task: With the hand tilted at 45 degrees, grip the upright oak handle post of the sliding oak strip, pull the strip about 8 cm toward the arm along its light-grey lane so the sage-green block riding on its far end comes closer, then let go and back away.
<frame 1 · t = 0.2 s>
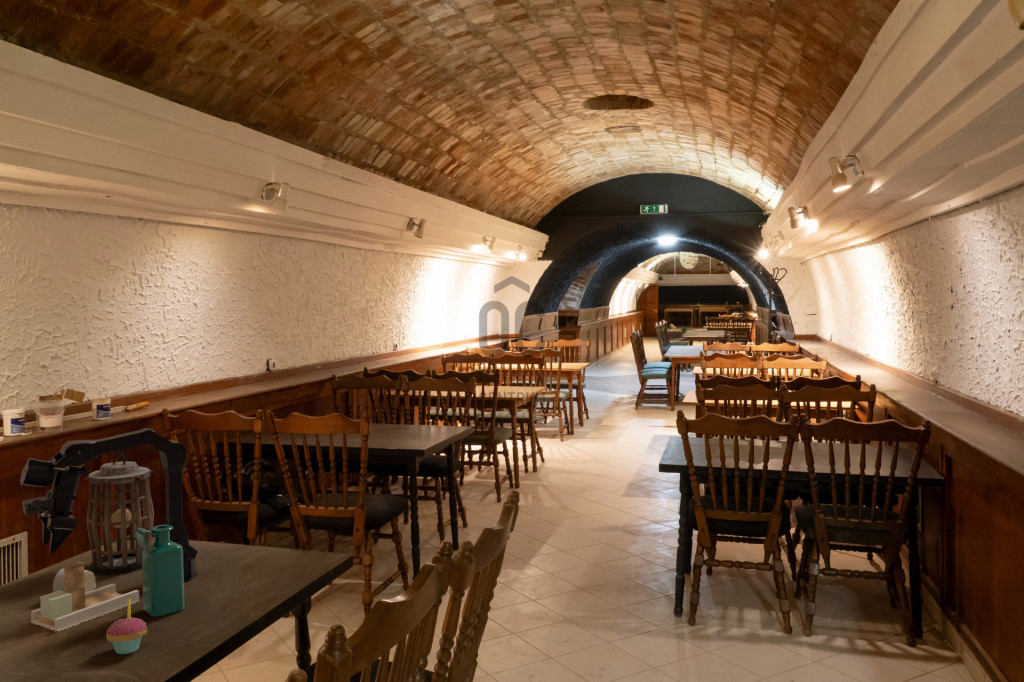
hand: (48, 548, 210), 15 cm above the table, tool tilted 15°, fingers open, 9 cm apart
ceramic mug: (77, 595, 219), on the table
strip: (81, 585, 205), point 7 cm above the table, slide at 0.0 cm, touching block
lane board: (87, 612, 207), on the table
green bottle: (161, 611, 208), on the table
cupcake: (127, 650, 185), on the table
block: (56, 615, 200), point 2 cm above the table, touching strip
lantern: (122, 565, 243), on the table
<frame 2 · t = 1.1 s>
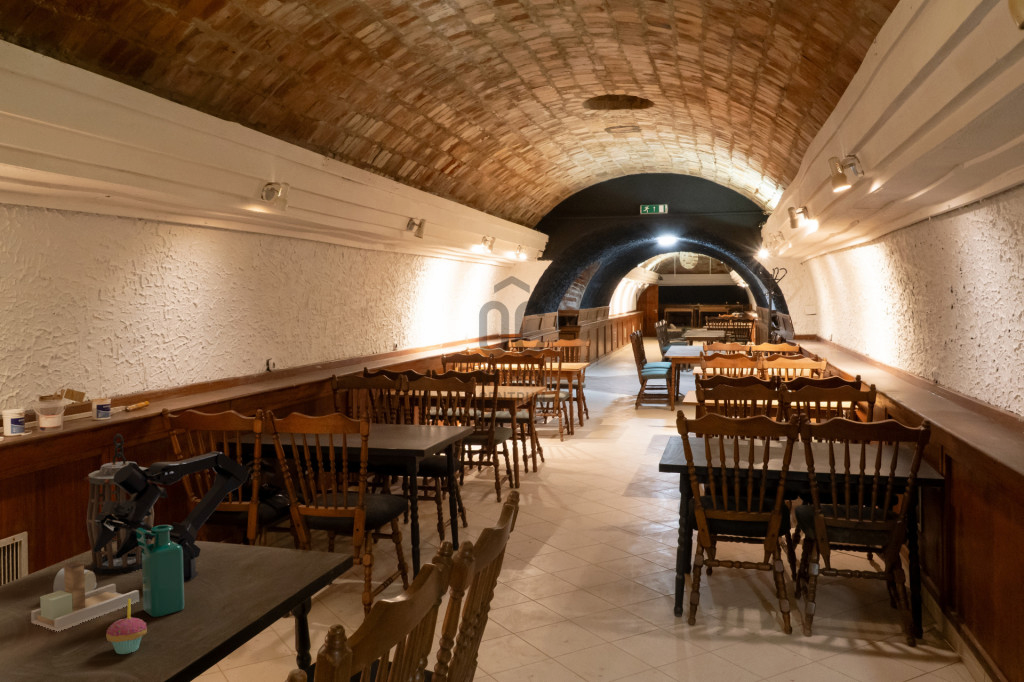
hand: (105, 554, 211), 13 cm above the table, tool tilted 45°, fingers open, 9 cm apart
nothing on the table moved.
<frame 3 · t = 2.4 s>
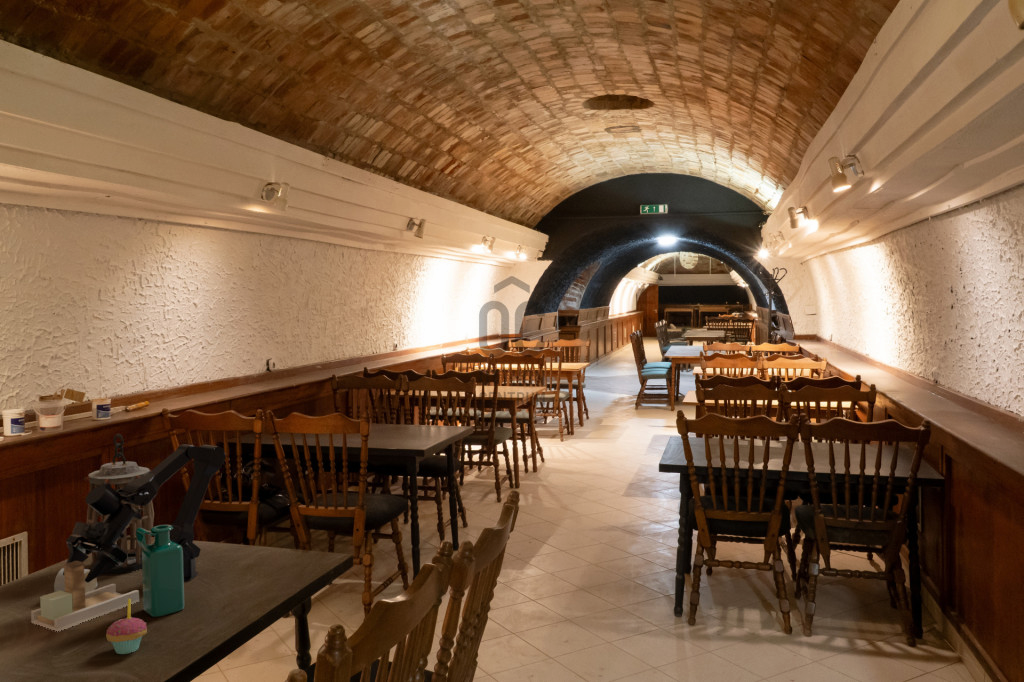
hand: (75, 578, 204), 10 cm above the table, tool tilted 45°, fingers open, 9 cm apart
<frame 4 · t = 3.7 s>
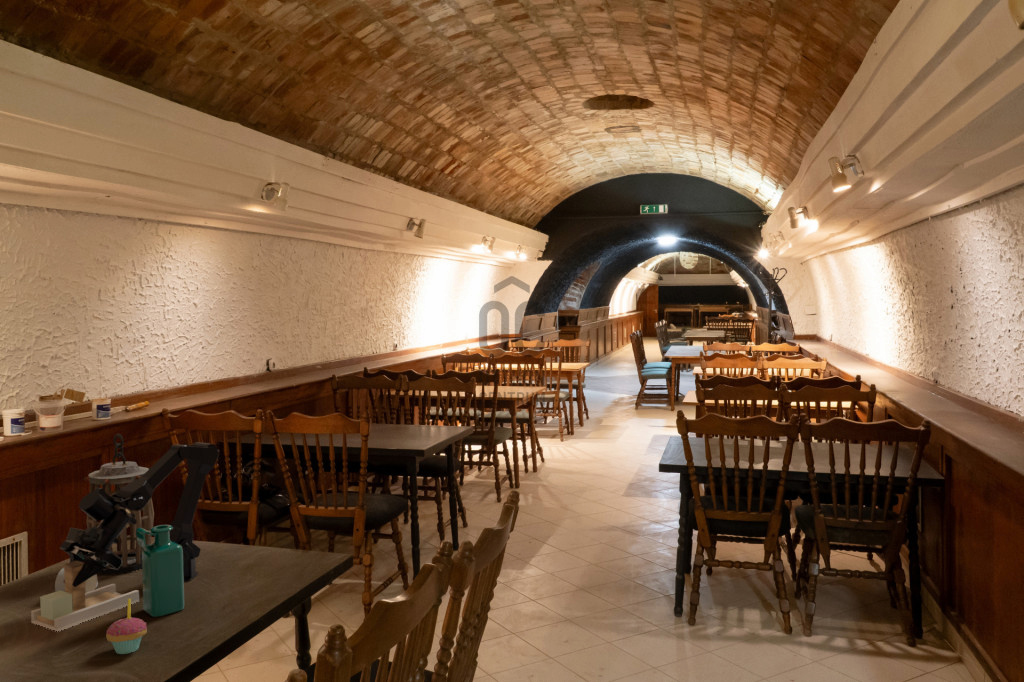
hand: (69, 584, 203), 9 cm above the table, tool tilted 45°, fingers closed on strip, 3 cm apart
strip: (81, 585, 205), point 7 cm above the table, slide at 0.0 cm, touching gripper
block: (56, 615, 200), point 2 cm above the table
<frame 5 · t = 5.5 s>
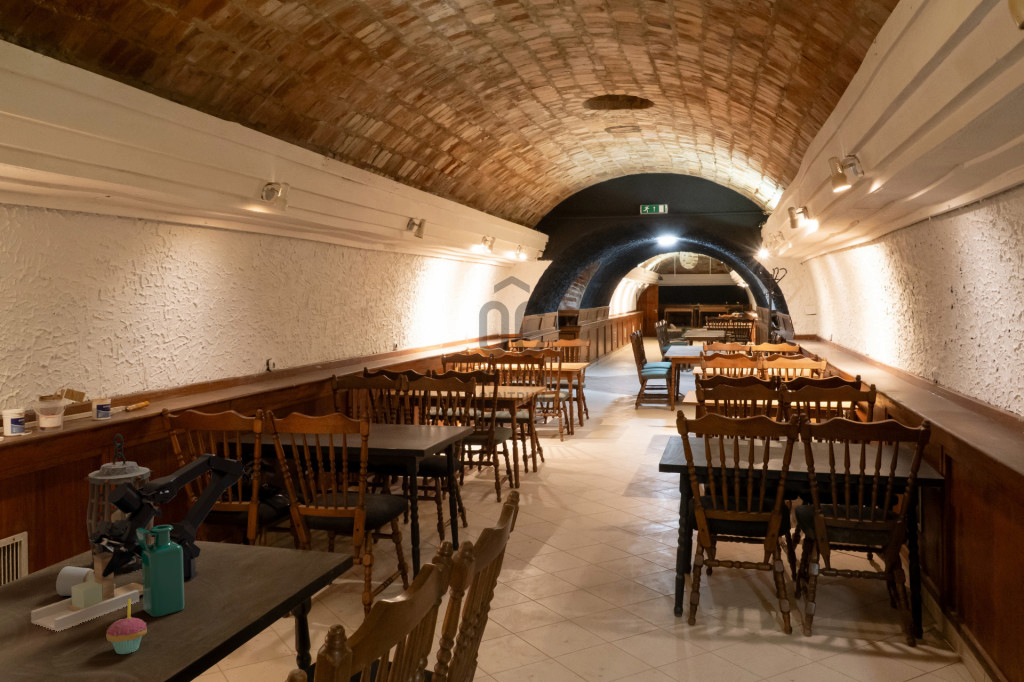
hand: (99, 575, 209), 9 cm above the table, tool tilted 45°, fingers closed on strip, 3 cm apart
strip: (110, 576, 212), point 7 cm above the table, slide at 7.9 cm, touching block, gripper
block: (87, 604, 207), point 2 cm above the table, touching strip
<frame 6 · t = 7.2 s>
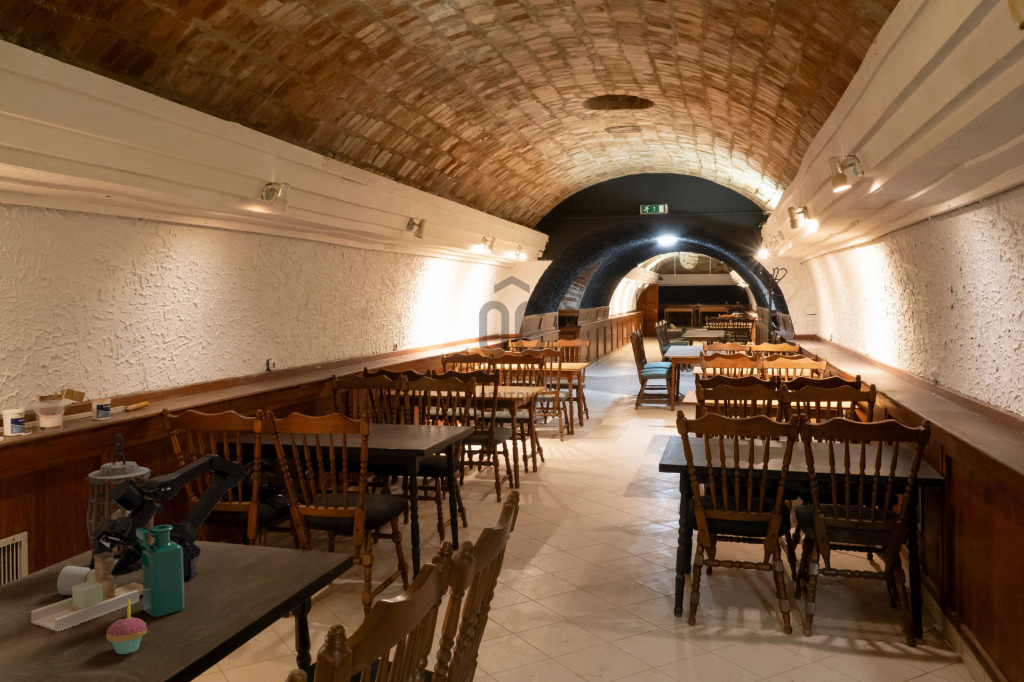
hand: (101, 572, 210), 9 cm above the table, tool tilted 45°, fingers open, 9 cm apart
strip: (110, 576, 212), point 7 cm above the table, slide at 8.1 cm, touching block
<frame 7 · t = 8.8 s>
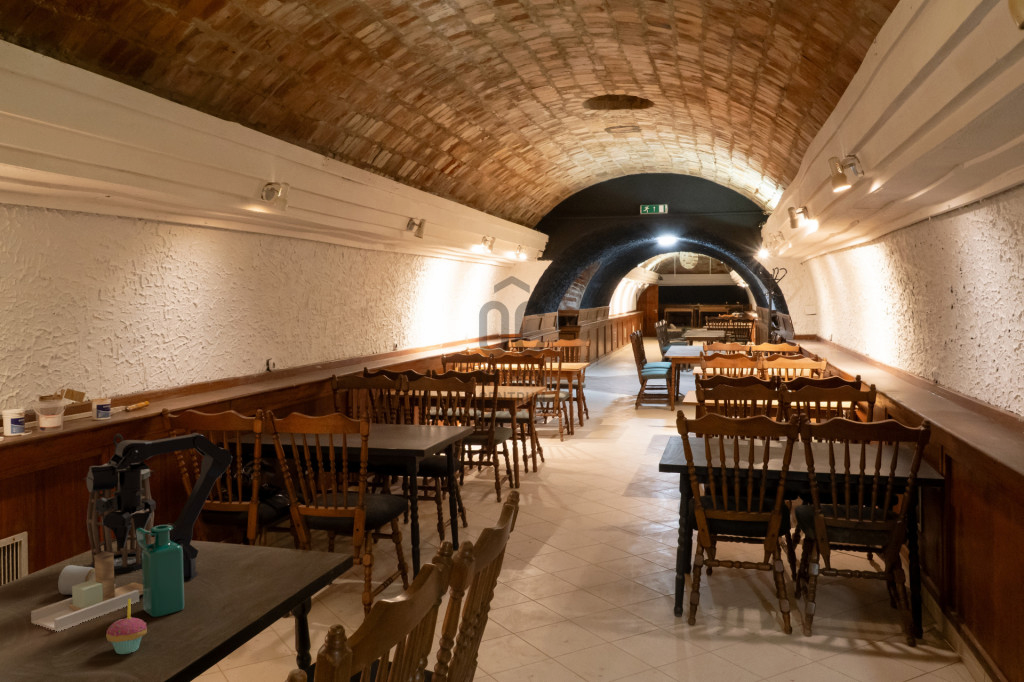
hand: (130, 543, 222), 13 cm above the table, tool pointing down, fingers open, 9 cm apart
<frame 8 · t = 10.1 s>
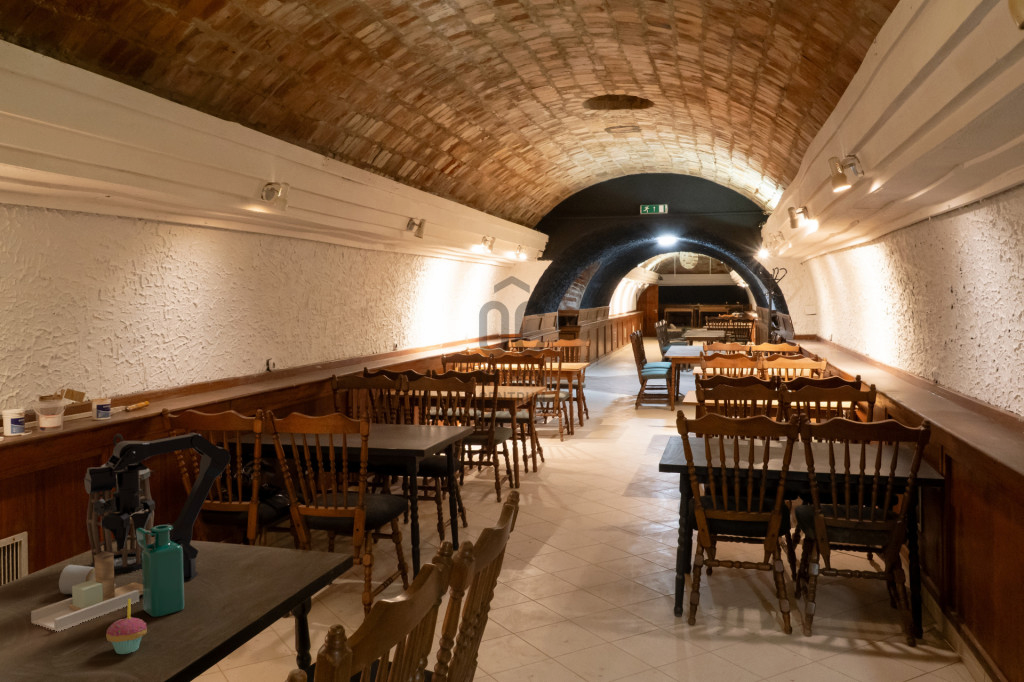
hand: (130, 543, 222), 13 cm above the table, tool pointing down, fingers open, 9 cm apart
at the end: strip slide at 8.1 cm; block 7.8 cm from the strip (horizontally); block tilted 0° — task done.
